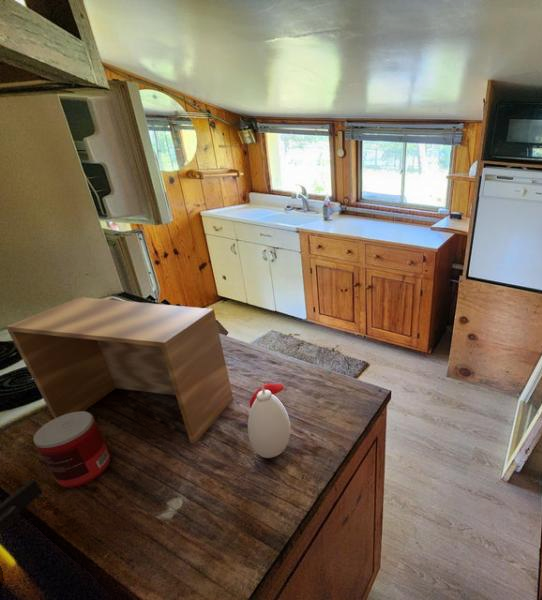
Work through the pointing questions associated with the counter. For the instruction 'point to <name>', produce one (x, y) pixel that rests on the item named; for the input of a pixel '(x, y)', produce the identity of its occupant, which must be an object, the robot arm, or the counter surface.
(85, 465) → the canned food
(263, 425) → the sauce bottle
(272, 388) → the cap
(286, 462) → the counter surface
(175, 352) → the cupboard
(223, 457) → the counter surface
